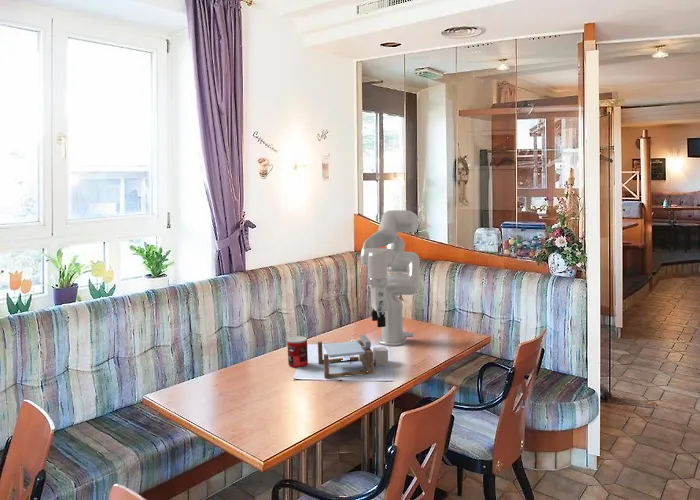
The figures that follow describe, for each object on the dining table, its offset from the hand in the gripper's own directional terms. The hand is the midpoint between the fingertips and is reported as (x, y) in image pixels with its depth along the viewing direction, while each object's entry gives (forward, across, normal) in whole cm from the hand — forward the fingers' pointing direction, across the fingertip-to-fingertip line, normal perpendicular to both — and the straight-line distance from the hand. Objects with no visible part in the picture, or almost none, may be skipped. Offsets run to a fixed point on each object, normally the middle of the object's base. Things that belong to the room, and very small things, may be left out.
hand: (378, 323), depth 234 cm
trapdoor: (+9, -2, +13) cm, 16 cm away
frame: (+17, -2, +15) cm, 22 cm away
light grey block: (+17, 0, 0) cm, 17 cm away
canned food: (+17, +6, +33) cm, 37 cm away
